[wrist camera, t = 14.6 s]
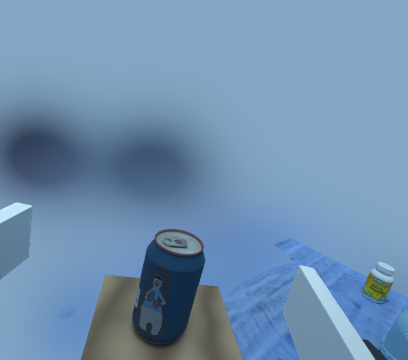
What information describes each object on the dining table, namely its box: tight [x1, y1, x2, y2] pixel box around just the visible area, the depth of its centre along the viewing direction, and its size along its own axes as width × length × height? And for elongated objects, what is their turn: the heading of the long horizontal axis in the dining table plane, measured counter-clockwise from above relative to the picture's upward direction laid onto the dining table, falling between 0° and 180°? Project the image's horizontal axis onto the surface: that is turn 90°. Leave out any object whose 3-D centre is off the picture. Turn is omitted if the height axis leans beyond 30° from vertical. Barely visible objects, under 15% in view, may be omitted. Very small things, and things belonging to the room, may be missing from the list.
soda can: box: [132, 229, 205, 344], centre depth 32 cm, size 7×7×12 cm
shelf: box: [81, 275, 243, 360], centre depth 35 cm, size 18×18×9 cm
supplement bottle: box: [362, 262, 395, 303], centre depth 71 cm, size 5×5×10 cm
